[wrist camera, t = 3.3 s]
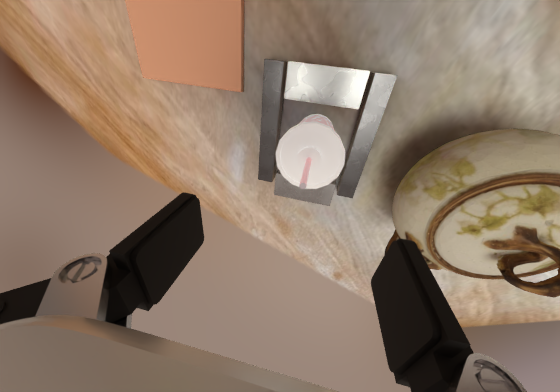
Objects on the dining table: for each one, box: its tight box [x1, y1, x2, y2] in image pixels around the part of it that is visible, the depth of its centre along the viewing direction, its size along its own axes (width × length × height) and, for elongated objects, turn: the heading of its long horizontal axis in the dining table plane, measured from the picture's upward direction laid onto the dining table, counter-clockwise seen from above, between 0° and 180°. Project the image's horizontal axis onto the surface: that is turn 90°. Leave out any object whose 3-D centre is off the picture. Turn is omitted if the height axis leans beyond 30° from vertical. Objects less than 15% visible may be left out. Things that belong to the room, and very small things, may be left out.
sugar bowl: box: [385, 129, 560, 297], centre depth 18 cm, size 20×15×15 cm
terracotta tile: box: [125, 0, 244, 92], centre depth 21 cm, size 13×13×1 cm
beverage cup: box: [276, 114, 345, 189], centre depth 19 cm, size 6×6×14 cm
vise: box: [258, 59, 397, 206], centre depth 23 cm, size 13×14×5 cm
